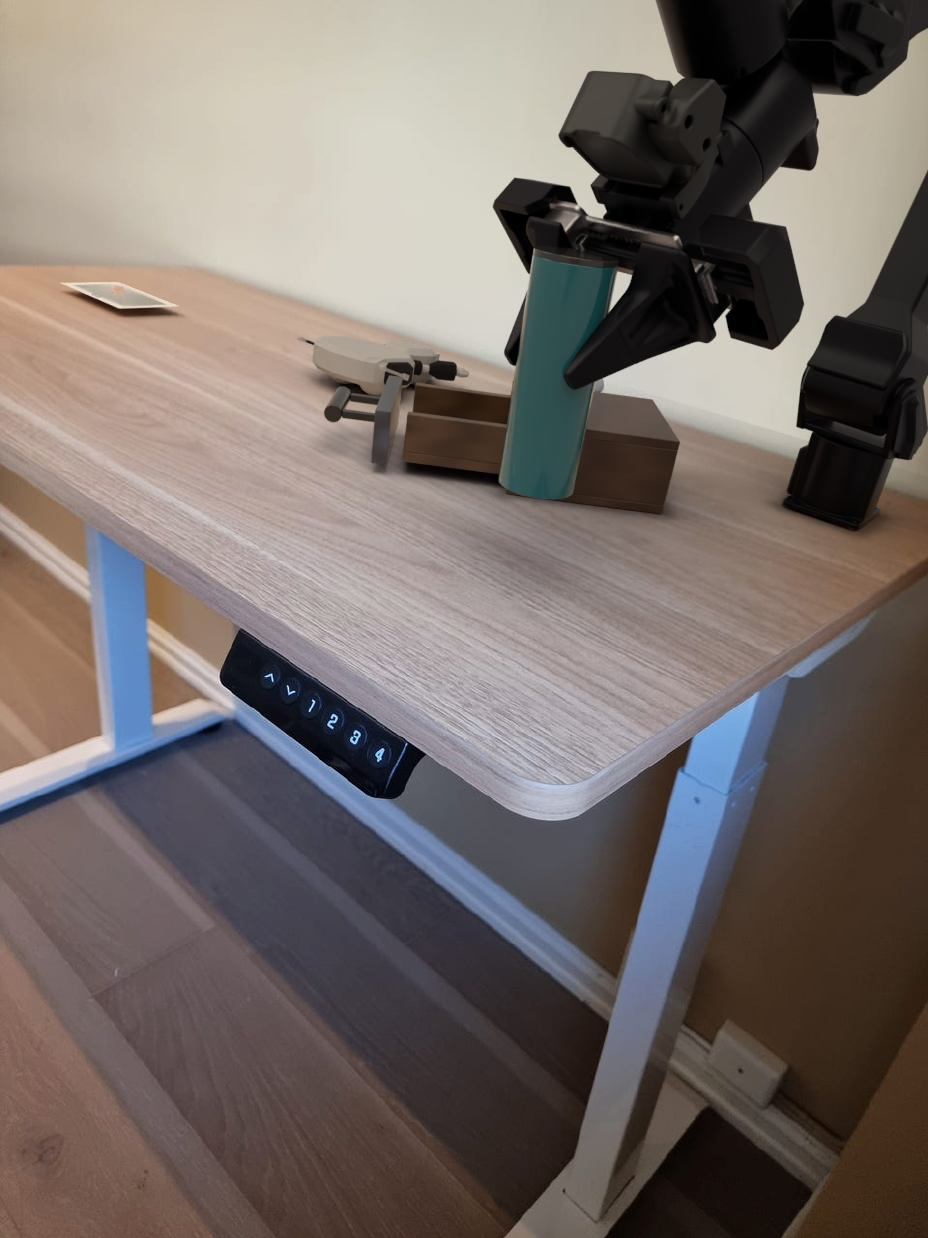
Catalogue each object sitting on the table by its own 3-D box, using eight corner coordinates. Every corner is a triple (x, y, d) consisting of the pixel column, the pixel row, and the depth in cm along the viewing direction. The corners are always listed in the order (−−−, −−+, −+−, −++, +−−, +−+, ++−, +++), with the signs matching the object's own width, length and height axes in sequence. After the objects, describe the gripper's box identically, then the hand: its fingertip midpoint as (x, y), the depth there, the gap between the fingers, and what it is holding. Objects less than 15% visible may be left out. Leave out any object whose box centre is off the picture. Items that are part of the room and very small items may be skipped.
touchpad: (119, 290, 118) (118, 273, 117) (179, 315, 110) (179, 297, 108) (60, 291, 113) (59, 273, 112) (119, 317, 104) (118, 298, 103)
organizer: (505, 493, 69) (517, 419, 66) (502, 445, 80) (512, 380, 77) (662, 514, 70) (680, 441, 67) (637, 463, 80) (652, 399, 78)
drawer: (316, 455, 68) (319, 402, 66) (337, 416, 78) (340, 368, 76) (516, 482, 69) (524, 429, 67) (511, 439, 79) (519, 392, 77)
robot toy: (391, 372, 101) (288, 374, 90) (397, 331, 100) (293, 329, 89) (472, 401, 95) (371, 407, 84) (480, 358, 93) (378, 359, 82)
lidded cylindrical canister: (588, 489, 51) (635, 261, 45) (544, 505, 48) (589, 261, 42) (528, 466, 54) (565, 246, 48) (482, 479, 51) (516, 245, 45)
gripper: (544, 13, 48) (359, 222, 47) (853, 15, 36) (615, 295, 35) (612, 184, 57) (456, 365, 55) (881, 231, 45) (690, 464, 43)
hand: (537, 371), depth 47 cm, fingers closed on lidded cylindrical canister, 4 cm apart
